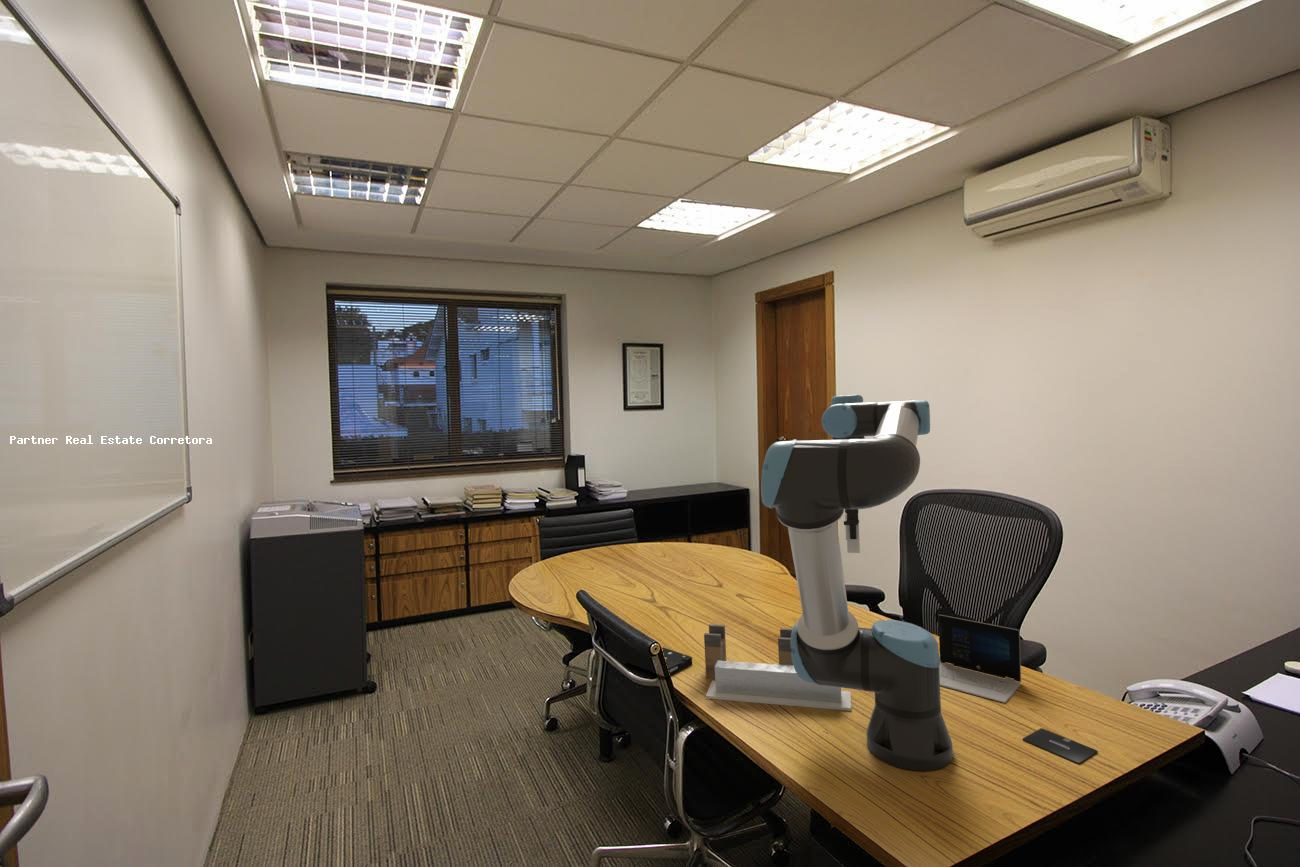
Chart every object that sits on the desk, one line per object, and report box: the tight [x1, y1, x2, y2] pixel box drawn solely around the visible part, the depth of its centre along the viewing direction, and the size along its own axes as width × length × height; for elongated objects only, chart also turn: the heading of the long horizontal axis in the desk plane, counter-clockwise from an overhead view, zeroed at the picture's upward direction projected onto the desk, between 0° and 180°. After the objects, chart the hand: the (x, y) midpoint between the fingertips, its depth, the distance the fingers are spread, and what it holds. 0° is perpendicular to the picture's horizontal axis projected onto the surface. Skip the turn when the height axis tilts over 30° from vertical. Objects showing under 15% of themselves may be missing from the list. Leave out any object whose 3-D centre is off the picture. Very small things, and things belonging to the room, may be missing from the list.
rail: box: [714, 660, 842, 703], centre depth 141 cm, size 4×28×6 cm, turn 74°
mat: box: [705, 680, 852, 712], centre depth 141 cm, size 8×32×1 cm, turn 74°
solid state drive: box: [1022, 727, 1098, 765], centre depth 116 cm, size 7×10×1 cm
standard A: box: [777, 627, 793, 666], centre depth 150 cm, size 7×4×11 cm, turn 164°
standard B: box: [703, 624, 727, 680], centre depth 155 cm, size 7×4×11 cm, turn 164°
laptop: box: [938, 614, 1022, 704], centre depth 143 cm, size 18×12×13 cm
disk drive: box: [661, 646, 693, 676], centre depth 162 cm, size 10×3×15 cm
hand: (852, 546), depth 149 cm, fingers open, 13 cm apart
